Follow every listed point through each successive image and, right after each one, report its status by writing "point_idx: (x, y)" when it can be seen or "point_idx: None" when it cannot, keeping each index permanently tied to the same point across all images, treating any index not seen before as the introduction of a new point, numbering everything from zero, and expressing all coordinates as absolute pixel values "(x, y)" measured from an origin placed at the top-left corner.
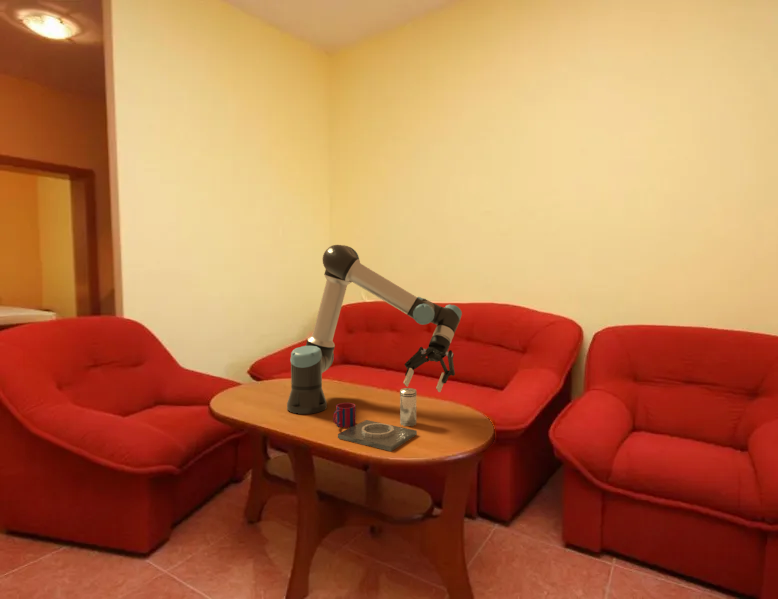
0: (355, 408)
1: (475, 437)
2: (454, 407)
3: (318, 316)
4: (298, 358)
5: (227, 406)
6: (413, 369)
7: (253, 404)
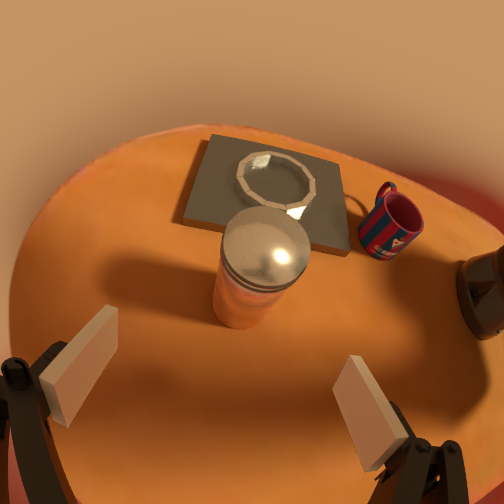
0: (385, 221)
1: (37, 258)
2: None
3: None
4: None
5: None
6: (381, 477)
7: None
